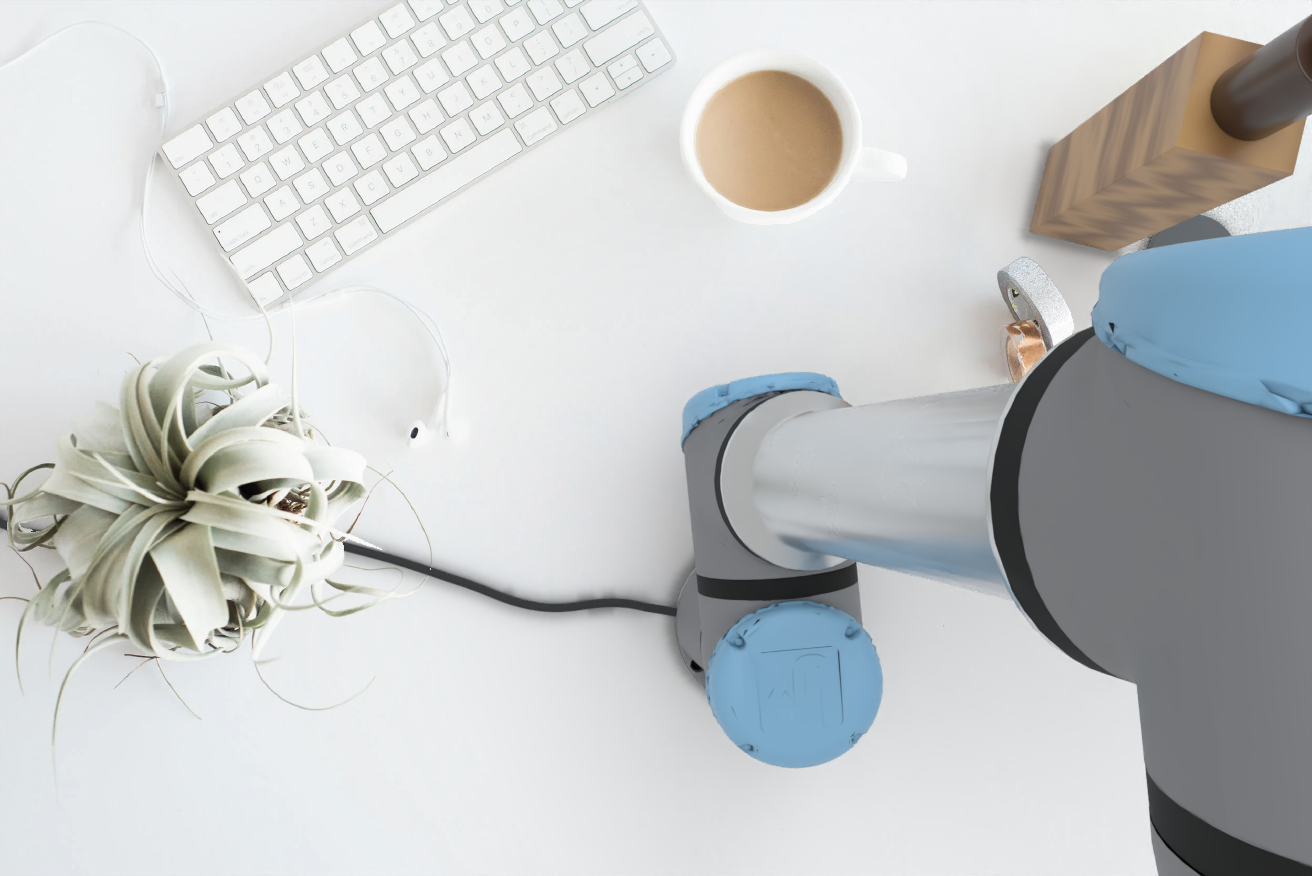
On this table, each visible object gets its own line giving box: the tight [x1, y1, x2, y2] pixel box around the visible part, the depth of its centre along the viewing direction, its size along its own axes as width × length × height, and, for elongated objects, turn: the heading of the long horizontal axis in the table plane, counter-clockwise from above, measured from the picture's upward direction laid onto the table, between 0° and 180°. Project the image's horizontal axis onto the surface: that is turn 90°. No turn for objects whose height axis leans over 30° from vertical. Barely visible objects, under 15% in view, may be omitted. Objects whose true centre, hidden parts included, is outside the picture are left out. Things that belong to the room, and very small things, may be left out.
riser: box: [1029, 30, 1308, 253], centre depth 66 cm, size 8×8×22 cm
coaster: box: [1146, 214, 1232, 249], centre depth 77 cm, size 8×8×1 cm
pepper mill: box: [1211, 13, 1312, 141], centre depth 51 cm, size 5×5×9 cm
